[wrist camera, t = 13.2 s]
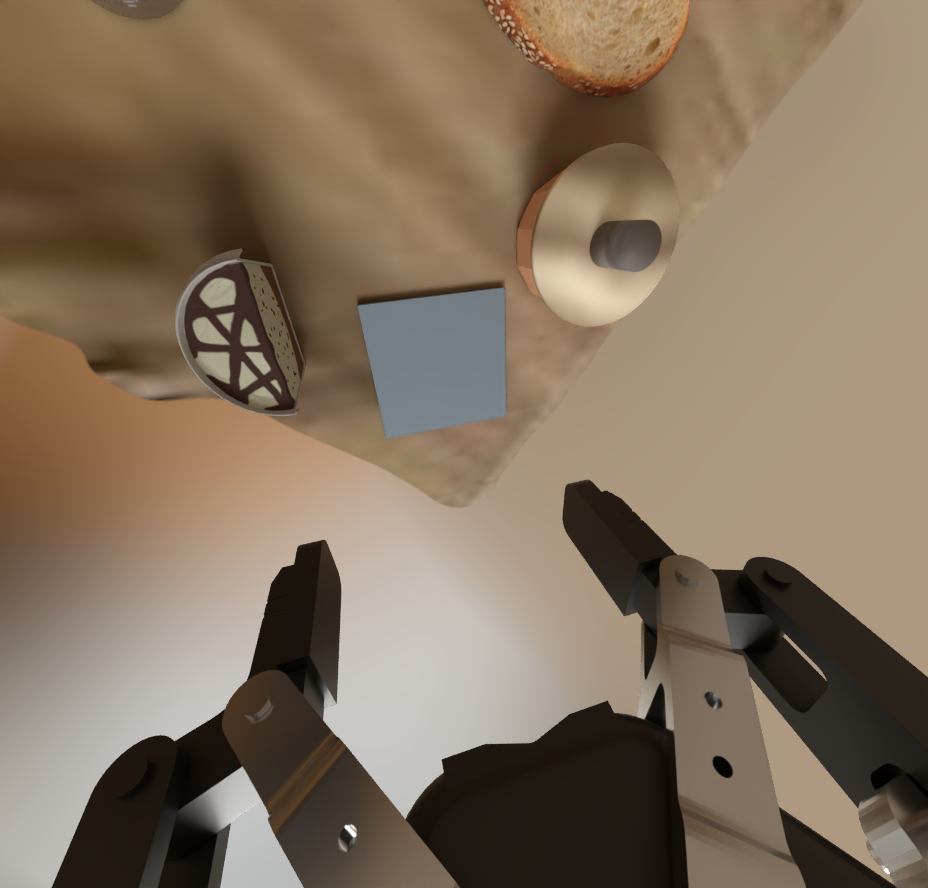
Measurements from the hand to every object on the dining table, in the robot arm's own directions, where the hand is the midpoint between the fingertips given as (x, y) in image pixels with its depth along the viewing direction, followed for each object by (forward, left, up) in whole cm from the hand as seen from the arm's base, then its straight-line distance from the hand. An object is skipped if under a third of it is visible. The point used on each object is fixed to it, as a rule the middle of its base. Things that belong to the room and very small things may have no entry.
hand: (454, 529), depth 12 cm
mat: (+5, +5, -30) cm, 31 cm away
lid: (-6, +20, -24) cm, 32 cm away
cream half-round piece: (-2, -12, -30) cm, 33 cm away
